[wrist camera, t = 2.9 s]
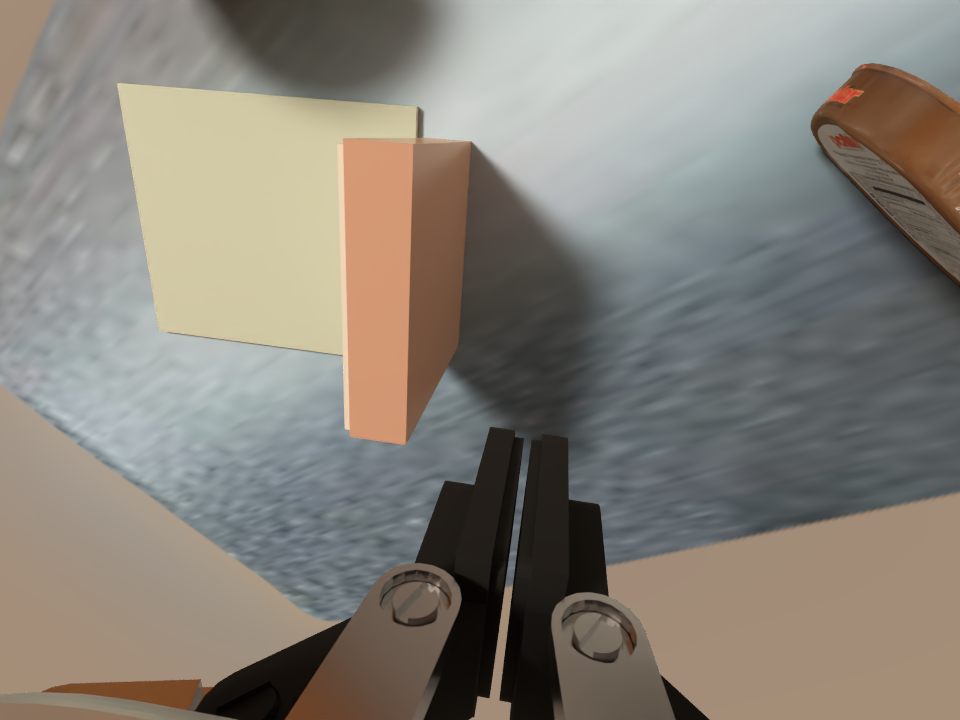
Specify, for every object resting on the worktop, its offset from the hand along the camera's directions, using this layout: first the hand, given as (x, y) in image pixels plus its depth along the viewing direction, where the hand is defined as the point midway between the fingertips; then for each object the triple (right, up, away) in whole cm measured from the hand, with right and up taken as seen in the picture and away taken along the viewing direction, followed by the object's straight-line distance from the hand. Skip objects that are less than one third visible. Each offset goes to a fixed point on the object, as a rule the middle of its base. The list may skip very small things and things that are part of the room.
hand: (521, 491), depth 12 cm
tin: (+21, +11, +16) cm, 28 cm away
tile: (-3, +9, +20) cm, 22 cm away
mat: (-13, +11, +21) cm, 27 cm away
